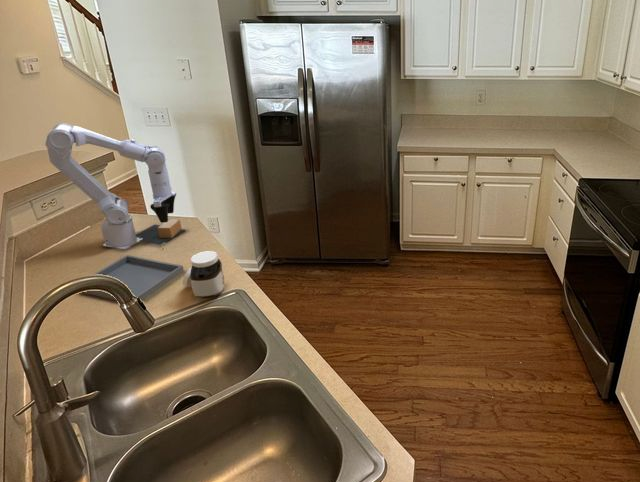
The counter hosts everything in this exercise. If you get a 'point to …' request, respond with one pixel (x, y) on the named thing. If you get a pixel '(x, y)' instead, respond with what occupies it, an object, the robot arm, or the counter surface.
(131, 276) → the tray
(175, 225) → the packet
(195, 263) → the spread jar
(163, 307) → the counter surface
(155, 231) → the mat
